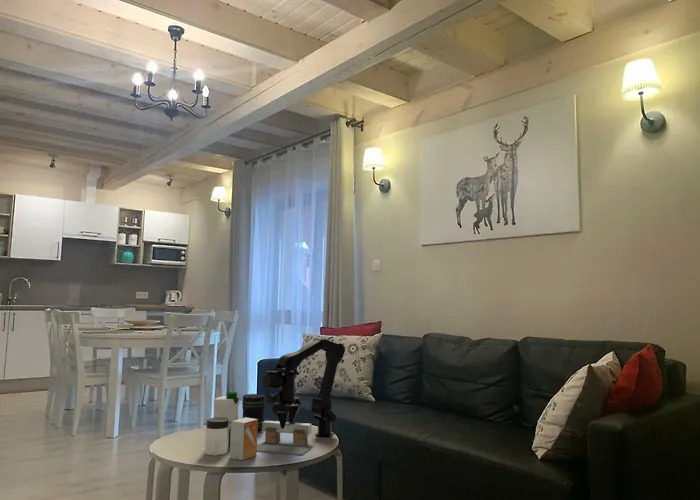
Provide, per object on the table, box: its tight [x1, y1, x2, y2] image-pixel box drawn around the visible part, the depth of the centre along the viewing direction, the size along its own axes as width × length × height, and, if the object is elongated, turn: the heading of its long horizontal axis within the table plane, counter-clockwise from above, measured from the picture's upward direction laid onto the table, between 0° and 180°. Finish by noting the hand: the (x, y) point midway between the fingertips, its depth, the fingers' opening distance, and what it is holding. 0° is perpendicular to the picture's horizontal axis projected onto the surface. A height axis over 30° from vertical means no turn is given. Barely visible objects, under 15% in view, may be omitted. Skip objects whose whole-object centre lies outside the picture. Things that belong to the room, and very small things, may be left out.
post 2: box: [292, 430, 309, 446], centre depth 212 cm, size 6×4×6 cm
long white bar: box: [262, 420, 312, 436], centre depth 214 cm, size 4×20×4 cm, turn 75°
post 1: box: [264, 428, 281, 444], centre depth 215 cm, size 6×4×6 cm
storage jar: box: [241, 393, 266, 433], centre depth 234 cm, size 10×10×15 cm
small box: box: [229, 417, 258, 461], centre depth 193 cm, size 8×6×13 cm
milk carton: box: [213, 391, 240, 448], centre depth 210 cm, size 9×9×20 cm
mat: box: [257, 443, 312, 456], centre depth 201 cm, size 9×24×1 cm, turn 75°
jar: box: [204, 417, 229, 457], centre depth 197 cm, size 9×8×12 cm
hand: (286, 426), depth 214 cm, fingers open, 9 cm apart
